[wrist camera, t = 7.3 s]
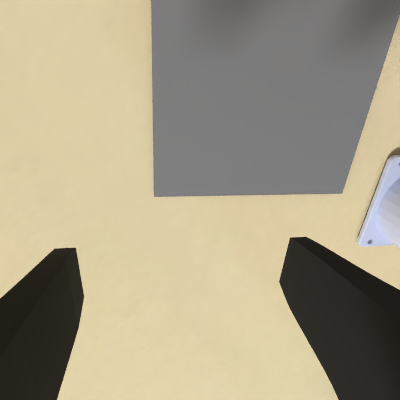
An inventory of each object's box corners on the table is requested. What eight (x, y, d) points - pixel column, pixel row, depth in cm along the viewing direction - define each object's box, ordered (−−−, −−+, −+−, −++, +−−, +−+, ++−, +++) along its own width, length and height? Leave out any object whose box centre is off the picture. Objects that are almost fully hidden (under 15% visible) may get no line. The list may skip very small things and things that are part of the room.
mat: (398, 1, 16) (404, 0, 16) (338, 191, 21) (342, 193, 21) (150, -28, 14) (151, -31, 13) (153, 194, 19) (154, 196, 19)
